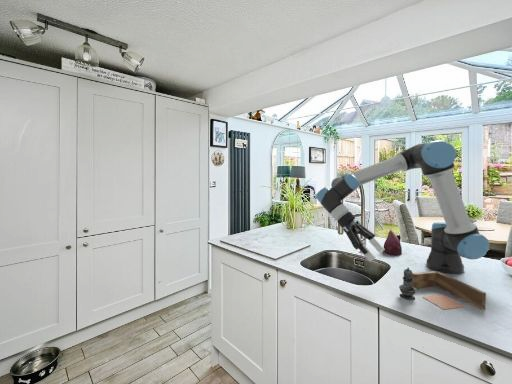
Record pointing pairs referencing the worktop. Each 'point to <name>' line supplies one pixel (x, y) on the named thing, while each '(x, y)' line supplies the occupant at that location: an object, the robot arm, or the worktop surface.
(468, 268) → the worktop surface
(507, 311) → the worktop surface
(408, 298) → the grey stone statuette
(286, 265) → the worktop surface
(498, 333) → the worktop surface
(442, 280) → the wooden corner wall
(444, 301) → the tile
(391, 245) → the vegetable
